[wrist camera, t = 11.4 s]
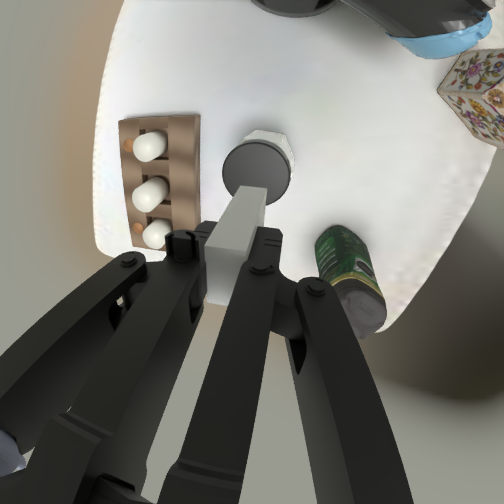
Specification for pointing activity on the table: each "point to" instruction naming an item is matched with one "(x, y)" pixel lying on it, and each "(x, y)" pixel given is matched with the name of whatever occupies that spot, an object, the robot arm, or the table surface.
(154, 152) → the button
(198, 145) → the button board
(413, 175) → the table surface
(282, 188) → the jar
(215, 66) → the table surface
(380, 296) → the coffee jar
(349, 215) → the table surface
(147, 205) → the button middle
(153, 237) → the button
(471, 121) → the decorative jar
